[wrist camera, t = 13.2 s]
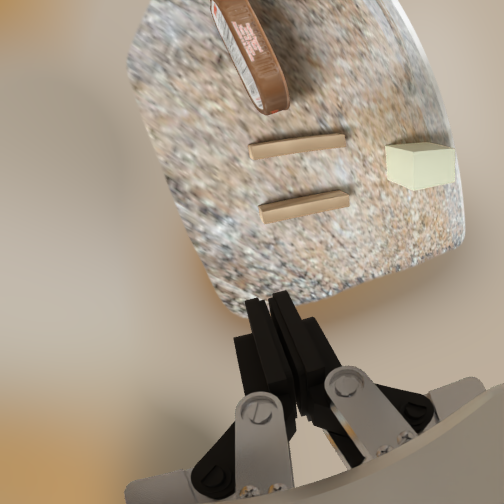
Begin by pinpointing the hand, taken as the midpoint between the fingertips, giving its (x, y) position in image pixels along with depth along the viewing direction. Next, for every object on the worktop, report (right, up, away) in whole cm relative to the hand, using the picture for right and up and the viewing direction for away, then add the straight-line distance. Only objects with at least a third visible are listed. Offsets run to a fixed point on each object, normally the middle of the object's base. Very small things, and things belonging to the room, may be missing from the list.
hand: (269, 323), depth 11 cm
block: (+22, +16, +23) cm, 36 cm away
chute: (+5, +12, +21) cm, 25 cm away
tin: (-2, +24, +14) cm, 28 cm away
